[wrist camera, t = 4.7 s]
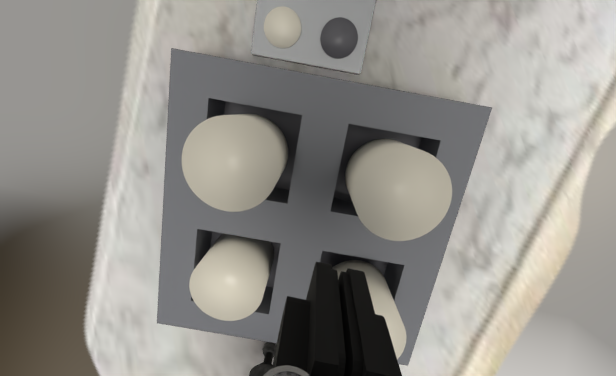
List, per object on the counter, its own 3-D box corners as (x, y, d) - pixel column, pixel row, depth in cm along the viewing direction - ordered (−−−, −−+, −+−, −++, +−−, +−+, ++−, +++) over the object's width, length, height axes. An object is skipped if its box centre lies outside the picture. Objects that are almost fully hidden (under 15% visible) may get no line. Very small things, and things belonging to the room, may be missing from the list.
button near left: (218, 107, 19) (184, 106, 14) (293, 121, 19) (285, 124, 14) (211, 181, 20) (178, 202, 16) (282, 193, 21) (271, 219, 16)
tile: (267, -74, 20) (265, -81, 19) (385, -51, 20) (388, -57, 19) (252, 54, 22) (250, 53, 21) (359, 74, 22) (360, 73, 21)
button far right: (327, 254, 22) (330, 296, 17) (394, 266, 22) (416, 311, 17) (315, 312, 23) (314, 366, 18) (378, 323, 23) (394, 379, 18)
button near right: (353, 132, 19) (366, 139, 15) (428, 145, 19) (464, 157, 15) (338, 203, 21) (345, 232, 16) (408, 216, 21) (436, 248, 16)
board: (197, 59, 22) (171, 48, 18) (461, 108, 22) (492, 107, 18) (179, 292, 27) (156, 322, 23) (394, 329, 27) (407, 365, 23)
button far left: (217, 221, 24) (192, 249, 19) (278, 231, 24) (268, 262, 19) (211, 275, 25) (186, 314, 20) (269, 285, 25) (258, 326, 20)
